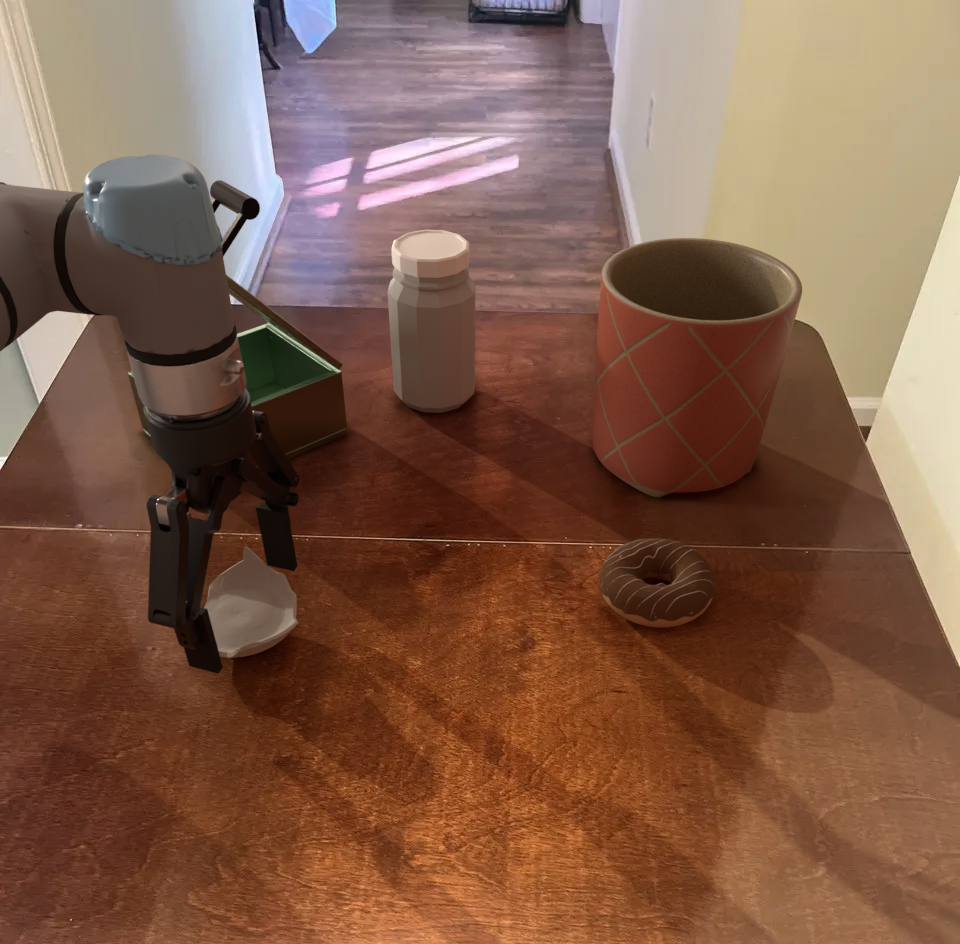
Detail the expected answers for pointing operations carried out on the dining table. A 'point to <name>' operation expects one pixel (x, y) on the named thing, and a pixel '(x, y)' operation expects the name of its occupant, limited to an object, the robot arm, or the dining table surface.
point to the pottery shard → (250, 607)
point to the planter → (688, 361)
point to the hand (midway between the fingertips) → (246, 613)
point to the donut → (658, 602)
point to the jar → (432, 320)
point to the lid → (245, 210)
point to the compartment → (286, 391)
